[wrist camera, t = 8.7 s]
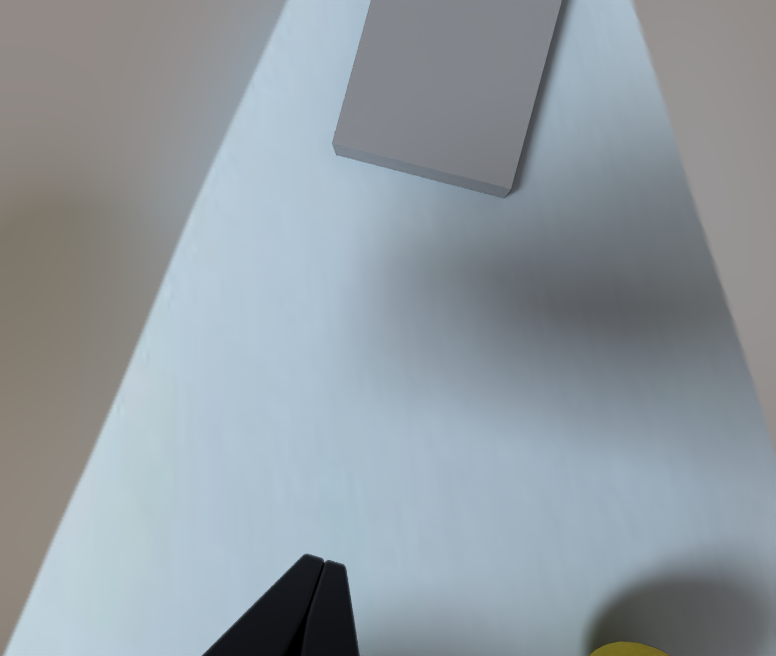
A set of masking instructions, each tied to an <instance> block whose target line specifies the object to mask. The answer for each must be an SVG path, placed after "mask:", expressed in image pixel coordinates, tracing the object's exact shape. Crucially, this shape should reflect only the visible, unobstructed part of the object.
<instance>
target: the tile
mask: <svg viewBox="0 0 776 656" xmlns="http://www.w3.org/2000/svg"><path fill="white" fill-rule="evenodd" d="M561 2H562V0H371V2H370V6H369V10H368V13H367V17H366V21H365V24H364V28H363V32H362V35H361V39H360V43H359V46H358V50H357V54H356V57H355V61H354V65H353V68H352V72H351V76H350V79H349V83H348V87H347V90H346V94H345V98H344V101H343V105H342V109H341V112H340V116H339V120H338V123H337V127H336V131H335V134H334V138H333V142H332V144H333V147H334V150H335V153H336V155H339V156H343V157H346V158H350V159H354V160H358V161H362V162H366V163H370V164H374V165H377V166H381V167H385V168H389V169H393V170H397V171H401V172H405V173H408V174H412V175H416V176H420V177H424V178H428V179H432V180H436V181H439V182H443V183H447V184H451V185H455V186H459V187H463V188H467V189H471V190H474V191H478V192H482V193H486V194H490V195H494V196H498V197H502V198H505V196H506V195H507V194H508V192H509V191H510V190H511V187H512V184H513V180H514V176H515V173H516V169H517V165H518V162H519V158H520V154H521V150H522V147H523V143H524V139H525V136H526V132H527V128H528V124H529V121H530V117H531V113H532V110H533V106H534V102H535V98H536V95H537V91H538V87H539V84H540V80H541V76H542V72H543V69H544V65H545V61H546V58H547V54H548V50H549V47H550V43H551V39H552V35H553V32H554V28H555V24H556V21H557V17H558V13H559V9H560V6H561Z"/></svg>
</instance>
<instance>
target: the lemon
mask: <svg viewBox="0 0 776 656" xmlns="http://www.w3.org/2000/svg"><path fill="white" fill-rule="evenodd" d="M589 656H670V655H668V654H666V653H664V652H663V651H661V650H659V649H656V648H653V647H650V646H647V645H644V644H641V643H636V642H614V643H609V644H606V645H604V646H602V647H600V648H598V649H596V650H595V651H594V652H593V653H591V654H590V655H589Z"/></svg>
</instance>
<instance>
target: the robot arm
mask: <svg viewBox="0 0 776 656" xmlns="http://www.w3.org/2000/svg"><path fill="white" fill-rule="evenodd" d="M202 656H360V654H359V648H358V641H357V635H356V628H355V622H354V615H353V609H352V602H351V596H350V590H349V583H348V577H347V570H346V567H345V565H344V564H341V563H337V562H334V561H331V560H327V561H325V563H324V560H323V558H320V557H317V556H314V555H310V554H304V555H303V556H302V557H301V558H300V559H299V560H298V561H297V562H296V563H295V564H294V565H293V566H292V567H291V568H290V569H289V570H288V571H287V572H286V573H285V574H284V575H283V576H282V577H281V578H280V579H279V580H278V581H277V582H276V583H275V584H274V585H273V586H272V587H271V588H270V589H269V590H268V591H267V592H266V593H265V594H264V595H263V596H262V597H260V598H259V599H258V600H257V601H256V602H255V603H254V604H253V605H252V606H251V607H250V608H249V609H248V610H247V611H246V612H245V613H244V614H243V615H242V616H241V617H240V618H239V619H238V620H237V621H236V622H235V623H234V624H233V625H232V626H231V627H230V628H229V629H228V630H227V631H226V632H225V633H224V634H223V635H222V636H221V637H220V638H219V639H218V640H217V641H216V642H215V643H214V644H213V645H212V646H211V647H210V648H209V649H208V650H207V651H206V652H205V653H204V654H203V655H202Z"/></svg>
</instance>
